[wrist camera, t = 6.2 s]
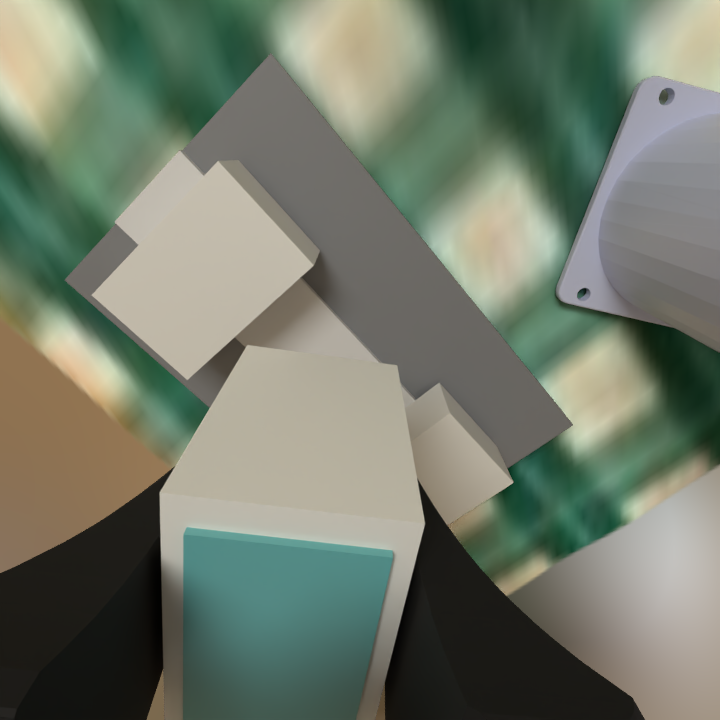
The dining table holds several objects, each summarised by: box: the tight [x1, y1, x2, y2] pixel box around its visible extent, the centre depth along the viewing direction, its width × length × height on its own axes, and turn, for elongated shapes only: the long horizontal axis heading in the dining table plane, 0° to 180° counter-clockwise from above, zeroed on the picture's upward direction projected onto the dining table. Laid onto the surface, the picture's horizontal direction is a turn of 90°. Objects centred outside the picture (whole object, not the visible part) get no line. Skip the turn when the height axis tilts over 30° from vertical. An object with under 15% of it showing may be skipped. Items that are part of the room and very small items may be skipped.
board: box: [65, 54, 573, 526], centre depth 18 cm, size 18×11×4 cm, turn 41°
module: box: [160, 345, 425, 720], centre depth 11 cm, size 4×6×6 cm, turn 172°
